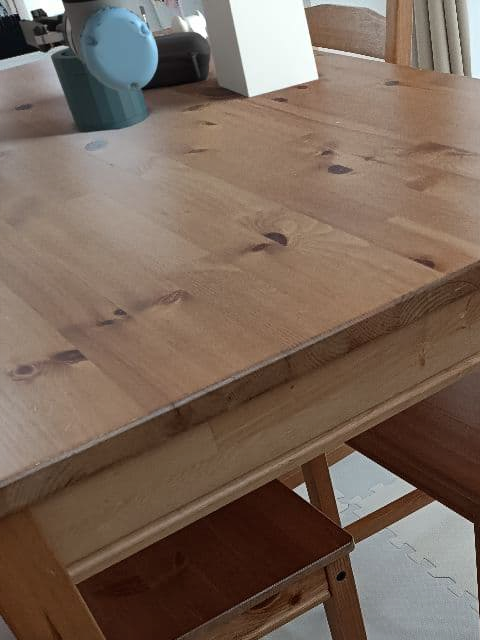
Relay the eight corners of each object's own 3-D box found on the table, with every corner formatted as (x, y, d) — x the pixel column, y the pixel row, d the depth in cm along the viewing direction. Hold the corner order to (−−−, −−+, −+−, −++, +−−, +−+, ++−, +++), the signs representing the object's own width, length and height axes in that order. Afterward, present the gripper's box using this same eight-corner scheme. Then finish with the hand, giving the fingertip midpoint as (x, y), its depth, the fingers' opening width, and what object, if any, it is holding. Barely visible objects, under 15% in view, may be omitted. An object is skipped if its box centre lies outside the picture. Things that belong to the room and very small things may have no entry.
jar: (65, 135, 109) (38, 61, 103) (92, 114, 116) (68, 44, 110) (134, 128, 108) (111, 53, 101) (157, 108, 115) (137, 36, 109)
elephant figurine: (193, 55, 142) (184, 17, 138) (166, 54, 146) (156, 16, 142) (221, 46, 145) (213, 8, 141) (194, 45, 149) (185, 8, 145)
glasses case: (218, 62, 130) (205, 13, 124) (219, 101, 126) (205, 53, 119) (111, 76, 130) (92, 28, 123) (108, 116, 126) (88, 68, 119)
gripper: (24, 90, 91) (9, 61, 107) (195, 54, 96) (156, 31, 112) (-6, 14, 86) (-17, -5, 102) (176, -20, 91) (139, -33, 107)
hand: (74, 14), depth 107 cm, fingers open, 8 cm apart
